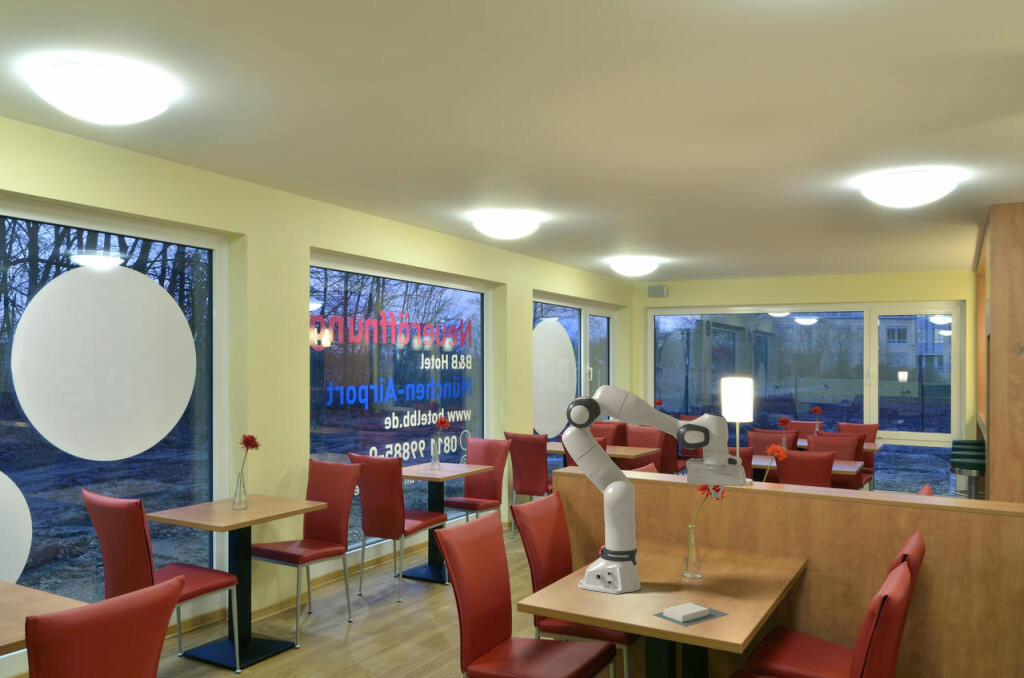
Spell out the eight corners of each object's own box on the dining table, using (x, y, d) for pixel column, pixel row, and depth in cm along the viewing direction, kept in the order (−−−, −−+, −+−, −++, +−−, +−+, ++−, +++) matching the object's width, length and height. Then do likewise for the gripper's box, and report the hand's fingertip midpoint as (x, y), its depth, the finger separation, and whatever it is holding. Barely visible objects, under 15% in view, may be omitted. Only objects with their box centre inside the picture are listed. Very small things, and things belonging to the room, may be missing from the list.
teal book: (689, 602, 248) (663, 609, 241) (708, 608, 241) (682, 615, 234) (689, 609, 248) (663, 616, 241) (708, 615, 241) (682, 622, 234)
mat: (695, 605, 254) (695, 603, 254) (729, 616, 242) (729, 614, 242) (652, 616, 242) (652, 614, 242) (685, 628, 231) (685, 626, 231)
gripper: (684, 458, 271) (685, 497, 271) (744, 460, 264) (745, 500, 264) (687, 456, 277) (687, 495, 277) (745, 458, 270) (746, 497, 269)
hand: (716, 497), depth 270 cm, fingers closed
